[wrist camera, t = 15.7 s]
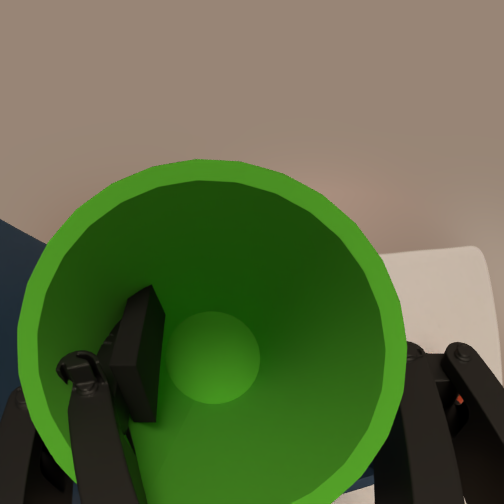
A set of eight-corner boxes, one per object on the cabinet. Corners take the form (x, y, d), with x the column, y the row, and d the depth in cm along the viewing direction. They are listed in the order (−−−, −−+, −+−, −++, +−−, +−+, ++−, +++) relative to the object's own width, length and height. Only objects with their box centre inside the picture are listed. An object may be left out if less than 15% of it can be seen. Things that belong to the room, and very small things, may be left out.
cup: (318, 312, 18) (438, 242, 7) (259, 460, 15) (321, 572, 4) (171, 251, 18) (128, 116, 8) (106, 395, 15) (-24, 421, 4)
